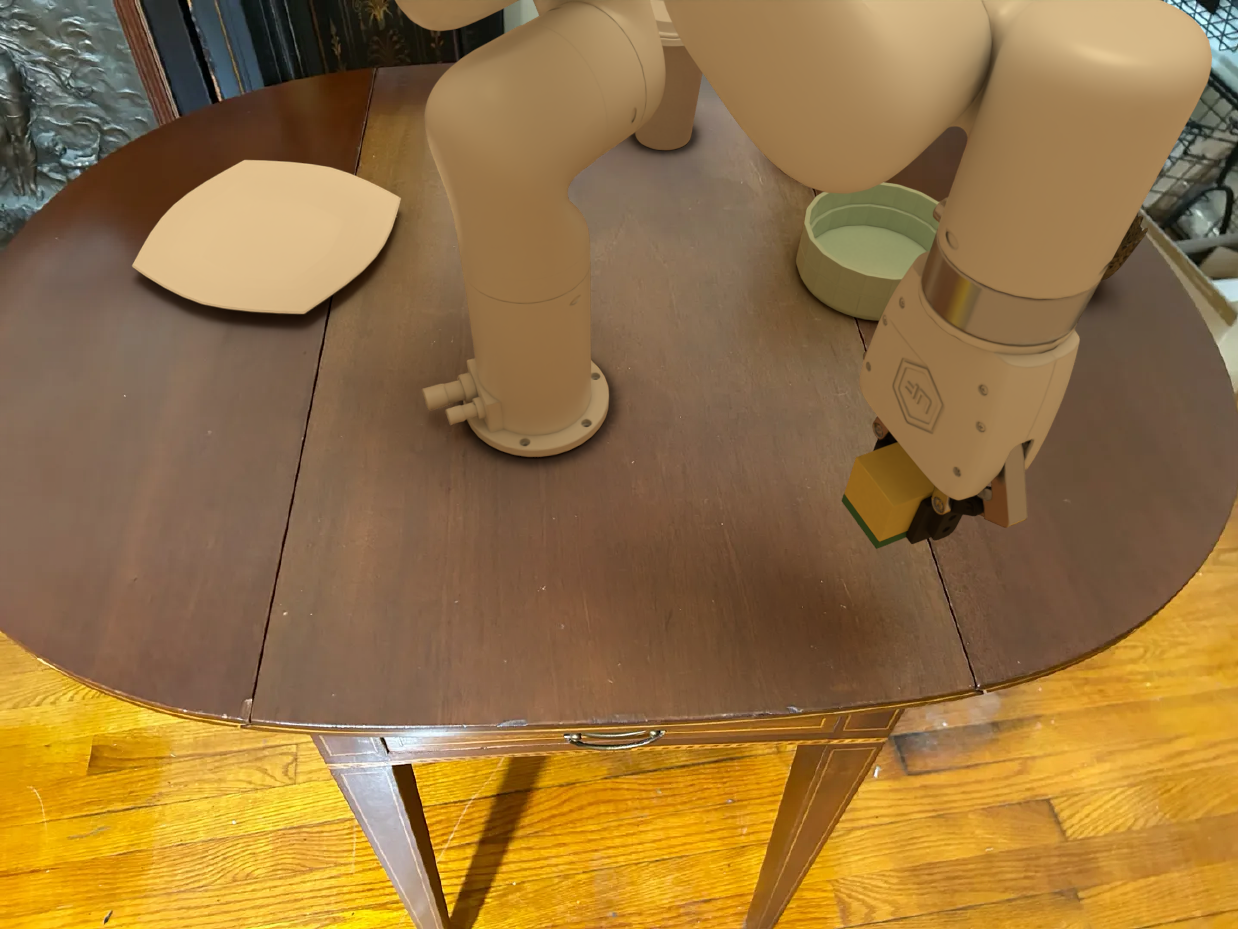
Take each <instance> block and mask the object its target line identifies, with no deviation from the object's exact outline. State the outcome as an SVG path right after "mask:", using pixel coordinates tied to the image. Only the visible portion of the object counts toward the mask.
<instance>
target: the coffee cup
mask: <svg viewBox="0 0 1238 929" xmlns="http://www.w3.org/2000/svg"><path fill="white" fill-rule="evenodd" d="M650 2H651V6H652V9H653V13H654V16H655V20H656V24H657V27H658V31H659V35H660V39H661V43H662V48H663V53H664V60H665V71H666V78H665V88H664V93H663V97H662V100H661V103H660V105H659V107H658V109H657V110H656V112H655V113H654V115H653V116H652V117H651V119H650V120H649V121H648V122H647V123H646V124H644V125H643V126H642V127H641V128H640V129H639V130H637V131H636V132H635V133H634V134H635V139H636V140H637V141H638V142H639V143H640V144H641V145H643V146H645V147H647V148H649V149H653V150H657V151H672V150H678V149H680V148H682V147H684V146H686V145H687V144H688V143H689V142H690V141H691V138H692V132H693V127H694V122H695V116H696V111H697V106H698V100H699V95H700V88H701V84H702V79H703V75H704V74H703V73H702V72H701V70H700V69H699V67H698V66H697V64H696V63H695V61H694V60H693V59H692V57H691V56H690V54H689V53H688V51H687V49H686V48H685V46H684V44H683V42H682V41H681V39H680V37H679V35H678V34H677V32H676V30H675V28H674V25H673V23H672V21H671V19H670V17H669V14H668V12H667V10H666V7H665V4H664V1H663V0H650Z"/></svg>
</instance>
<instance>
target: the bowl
mask: <svg viewBox="0 0 1238 929" xmlns="http://www.w3.org/2000/svg"><path fill="white" fill-rule="evenodd" d="M939 202H940V201H938V200H937V199H934V198H933V197H931V196H929V195H927V194H926V193H924V192H923V191H922V192H921V191H919V190H917V189H914V188H910V187H908V186H904V185H902V184H898V183H892V182H891V183H890V182H886V181H885V182H883V183H881V184H879V185H877V186H875V187H872V188H870V189H867V190H864V191H859V192H854V193H848V194H843V193H826V192H823V191H821V193H819V194H817V195H816V196H815V197H814V198H813V200H812V201H811V202H810V203H809V204H808V206H807V207H806V210H805V213H804V214H805V215H804V219H803V222H802V227H801V232H800V236H799V241H798V246H797V252H796V258H795V264H796V267H797V270H798V273H799V275H800V276H799V277H800V279H801V280H802V282H803V284H804V285H805V287H806V288H807V289H808V291H809V292H810V293H811V294H812V295H813V296H814V297H815V298H816V299H818V300H819V301H820V302H822V303H823V304H824V305H826V306H827V307H829V308H831V309H833V310H835V311H837V312H839V313H842V314H844V315H847V316H850V317H854V318H857V319H862V320H868V321H876V322H879V321H880V318H881V316H882V314H883V312H884V310H885V308H886V306H887V304H888V302H889V300H890V298H891V296H892V295H893V293H894V291H895V289H896V288H897V286H898V284H899V283H900V281H901V280H902V278H903V277H904V275H905V274H906V272H907V271H908V269H909V268H910V266H911V265H912V264H913V262H914V261H915V260H916V258H917V257H918V256H920V255H921V254H923V253H925V252H927V251H930V249H931V246H932V243H933V240H934V237H935V234H936V231H937V229H938V226H939V222H938V221H936V220H935V219H934V218H933V211H934V209H935V207H936V205H937V204H938V203H939Z"/></svg>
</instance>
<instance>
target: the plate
mask: <svg viewBox="0 0 1238 929" xmlns="http://www.w3.org/2000/svg"><path fill="white" fill-rule="evenodd" d="M401 200H402V198H401V197H400V196H398V195H396V194H394V193H393V192H391V191H389V190H387V189H385V188H383V187H381V186H379V185H377V184H375V183H373V182H371V181H369V180H367V179H364V178H362V177H359V176H357V175H354V174H353V173H350V172H346V171H344V170H341V169H338V168H335V167H330V166H325V165H319V164H312V163H302V162H294V161H278V160H261V159H260V160H259V159H244V160H242V161H239V162H238V163H236V164H235V165H232V166H231V167H229V168H227V169H225V170H223V171H222V172H220V173H218V174H216V175H214V176H213V177H211V178H210V179H208V180H206V181H204V182H203V183H201V184H200V185H198V186H197V187H194V189H192V190H191V191H189V192H187V193H186V194H185V195H183V197H181V198H180V199H179V200H178V201H177V202H175V203H174V204H173V205H172V206H171V207H170V208H169V209H168V210H167V211H166V212H165V213H164V214H163V215H162V216H161V217H160V219H159V221H158V222H156V224H155V225H154V227H153V228H152V230H151V231H150V232H149V233H148V236H147V238H146V239H145V241H144V243H143V245H142V247H141V248H140V250H139V252H138V253H137V255H136V257H135V259H134V262H133V263H132V265H131V267H132V268H133V269H134V270H136V271H137V272H138V273H140V274H142V275H143V276H144V277H146V278H147V279H149V280H150V281H152V282H154V283H155V284H157V285H159V286H161V287H162V288H164V289H165V290H167V291H169V292H171V293H173V294H175V295H177V296H178V297H179V296H180V297H182V298H183V299H185V300H189V301H192V302H194V303H197V304H200V305H202V306H206V307H210V308H216V309H220V310H227V311H228V310H229V311H236V312H245V313H252V314H253V313H254V314H269V315H289V316H290V315H294V316H305V315H306V314H308V313H309V312H311V311H312V310H314V309H315V308H317V307H318V306H320V305H321V304H323V303H325V302H326V301H327V300H328V299H330V298H332V297H333V296H334V295H336V294H337V293H338V292H340V291H341V290H343V289H344V288H346V287H347V286H348V285H349V284H350V283H352V282H353V281H354V280H355V279H357V277H359V276H360V275H361V274H363V272H364V271H365V270H366V269H367V268H368V267H370V265H371V264H372V263H374V261H375V260H376V258H377V257H378V256H379V254H380V252H382V250H383V248H384V247H385V245H386V243H387V241H388V238H389V237H390V235H391V232H392V231H393V227H394V224H395V222H396V218H397V215H398V211H399V208H400V203H401Z"/></svg>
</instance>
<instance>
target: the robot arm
mask: <svg viewBox="0 0 1238 929" xmlns="http://www.w3.org/2000/svg"><path fill="white" fill-rule="evenodd" d="M394 1H395V3H396V4H397V7H398V8H399V9H400V10H401V11H402V13H403V14H404V15H405V16H406V17H407V18H408V19H409V20H410V21H411V22H413V23H414V24H416V25H418V26H419V27H421V28H423V29H426V30H429V31H437V32H445V31H452V30H456V29H460V28H463V27H466V26H470V25H471V24H473V23H476V22H478V21H480V20H482V19H485V18H487V17H489V16H491V15H493V14H495V13H497V12H500V11H502V10H503V9H505V8H507V7H510V6H511V5H513V4H515V3H517V2H519V1H520V0H394ZM663 1H664V4H665V7H666V10H667V12H668V14H669V17H670V19H671V21H672V23H673V25H674V28H675V30H676V32H677V34H678V35H679V37H680V39H681V41H682V42H683V44H684V46H685V48H686V49H687V51H688V53H689V54H690V56H691V57H692V59H693V60H694V61H695V63H696V64H697V66H698V67H699V69H700V70H701V72H702V73H703V74H702V75H703V76H704V77H705V79H706V80H707V82H708V83H709V85H710V86H711V87H712V89H713V90H714V92H715V93H716V95H717V97H718V98H719V99H720V100H721V102H722V104H723V106H724V107H725V108H726V109H727V112H729V113H730V115H731V117H732V118H733V119H734V121H735V122H736V123H737V125H738V126H739V128H740V129H741V130H742V131H743V132H744V133H745V135H746V136H747V137H748V138H749V140H750V141H751V142H752V143H753V144H754V145H755V147H757V149H758V150H759V151H760V152H761V153H762V154H763V156H764V157H765V158H767V159H768V160H769V162H771V163H772V164H773V165H774V166H775V167H777V168H778V169H779V170H780V171H782V172H783V173H784V174H785V175H787V176H788V177H789V178H791V179H792V180H795V181H796V182H798V183H800V184H802V185H803V186H805V187H806V188H809V189H813V190H817V191H819V192H826V193H843V194H848V193H854V192H859V191H864V190H867V189H870V188H872V187H875V186H877V185H879V184H881V183H883V182H885V183H886V182H887V181H889V180H891V179H892V178H893V177H895V176H897V174H899V173H900V172H902V171H904V169H905V168H906V167H908V166H909V165H910V164H911V163H912V162H913V161H915V160H916V159H917V158H918V157H919V156H920V155H921V154H922V153H923V152H924V151H926V149H928V147H930V146H931V145H932V144H933V143H934V142H935V141H936V140H937V139H938V138H939V137H940V136H941V135H942V134H943V133H945V131H946V130H947V129H948V128H954V127H957V128H960V129H962V130H963V131H964V132H965V134H966V138H967V139H966V140H967V141H966V144H965V147H964V150H963V153H962V156H961V158H960V162H959V164H958V167H957V170H956V173H955V176H954V179H953V182H952V185H951V187H950V190H949V193H948V196H947V197H945V198H943V199H941V200H940V201H938V202H939V203H938V204H937V205H936V207H935V209H934V211H933V218H934V219H935V220H936V221H938V222H939V226H938V229H937V231H936V234H935V237H934V240H933V243H932V246H931V249H930V251H927V252H925V253H923V254H921V255H920V256H918V257H917V258H916V260H915V261H914V262H913V264H912V265H911V266H910V268H909V269H908V271H907V272H906V274H905V275H904V277H903V278H902V280H901V281H900V283H899V284H898V286H897V288H896V289H895V291H894V293H893V295H892V296H891V298H890V300H889V302H888V304H887V306H886V308H885V310H884V312H883V314H882V316H881V318H880V321H878V323H877V325H876V328H875V330H874V332H873V335H872V337H871V340H870V342H869V344H868V346H867V347H868V348H867V350H866V351H864V352H863V354H862V359H863V362H862V364H861V369H860V373H859V380H858V384H859V385H858V386H859V389H860V392H861V394H862V396H863V398H864V400H865V401H866V403H867V404H868V406H869V407H870V409H871V410H872V411H873V413H875V415H876V417H875V419H874V420H873V422H872V426H871V427H872V432H873V434H874V436H875V437H876V441H875V445H874V447H873V450H872V451H875V450H877V449H880V448H883V447H886V446H888V445H891V444H894V443H897V442H898V443H899V444H900V445H901V446H902V447H903V449H904V450H905V451H906V452H907V454H908V455H909V456H910V457H911V458H912V460H913V461H914V462H915V463H916V465H917V466H918V467H919V468H920V469H921V471H922V472H923V473H924V474H925V475H926V476H927V478H928V479H929V480H930V481H931V482H932V483H933V484H934V489H933V494H932V496H930V497H928V498H925V499H924V500H922V501H921V503H920V505H919V507H918V510H917V512H916V514H915V516H914V518H913V520H912V523H911V525H910V527H909V529H908V531H907V535H906V538H905V539H907V541H908V542H909V543H910V544H911V545H914V544H917V543H920V542H923V541H925V540H927V539H932V541H935V542H936V541H939V540H943V539H944V538H946V537H949V536H950V535H951V534H953V532H955V531H956V529H957V527H958V525H959V523H960V521H961V519H962V518H963V516H967V517H968V516H970V517H976V516H981V517H983V520H986V521H987V522H990V523H993V524H994V525H997V526H999V527H1002V528H1005V529H1007V528H1009V527H1012V526H1015V525H1017V524H1020V523H1022V522H1024V521H1027V519H1028V516H1029V514H1028V513H1029V512H1028V498H1027V481H1026V471H1027V470H1028V469H1029V467H1030V466H1031V464H1032V463H1033V461H1034V460H1035V458H1036V456H1037V455H1038V453H1039V451H1040V449H1041V447H1042V446H1043V444H1044V441H1045V440H1046V438H1047V436H1048V433H1049V432H1050V430H1051V427H1052V425H1053V423H1054V420H1055V418H1056V416H1057V414H1058V411H1059V409H1060V407H1061V404H1062V403H1063V402H1062V401H1063V399H1064V397H1065V394H1066V391H1067V388H1068V385H1069V383H1070V379H1071V376H1072V373H1073V369H1074V365H1075V363H1076V359H1077V354H1078V351H1079V345H1080V341H1081V339H1080V335H1079V334H1078V332H1077V331H1076V327H1077V325H1078V323H1079V321H1080V319H1081V317H1082V316H1083V314H1084V312H1085V310H1086V308H1087V306H1088V305H1089V302H1091V299H1092V297H1093V295H1094V293H1095V292H1096V290H1097V288H1098V286H1099V285H1100V283H1101V282H1102V281H1101V279H1102V277H1103V274H1104V273H1105V271H1106V269H1107V268H1108V266H1109V264H1110V262H1111V261H1112V259H1113V257H1114V255H1115V253H1116V251H1117V249H1118V247H1119V245H1120V244H1121V242H1122V240H1123V238H1124V236H1125V234H1126V233H1127V231H1128V229H1129V227H1130V225H1131V224H1132V222H1133V220H1134V218H1135V217H1136V215H1137V213H1138V214H1139V211H1140V209H1141V207H1142V206H1143V204H1144V202H1145V200H1146V198H1147V196H1148V195H1149V193H1150V192H1151V189H1152V187H1154V184H1155V182H1156V180H1157V178H1158V176H1159V174H1160V172H1161V171H1162V169H1163V167H1164V165H1165V163H1166V162H1167V160H1168V158H1169V156H1170V155H1171V153H1172V151H1173V149H1174V147H1175V145H1176V143H1177V141H1178V139H1179V137H1180V136H1181V135H1182V132H1183V130H1184V129H1185V127H1186V125H1187V123H1188V121H1190V120H1189V119H1190V118H1191V116H1192V115H1193V112H1194V111H1195V108H1196V107H1197V105H1198V103H1199V101H1200V99H1201V96H1202V94H1203V92H1204V90H1205V88H1206V86H1207V84H1208V82H1209V78H1210V74H1211V69H1212V64H1213V54H1212V48H1211V43H1210V40H1209V38H1208V36H1207V34H1206V33H1205V31H1204V29H1203V28H1202V27H1201V25H1200V24H1199V23H1198V22H1197V21H1196V20H1195V19H1194V18H1193V17H1191V16H1190V15H1189V14H1188V13H1187V12H1185V11H1183V10H1181V9H1180V8H1178V7H1176V6H1174V5H1172V4H1170V3H1168V2H1165V1H1164V0H663ZM532 2H533V4H534V7H535V9H536V12H537V14H538V16H536V17H534V18H532V19H530V20H529V21H526V22H525V23H523V24H521V25H518V26H516V27H514V28H512V29H511V30H508V31H507V32H504V33H503V34H501V35H499V36H498V37H496V38H493V39H492V40H491V41H488V42H487V43H484V44H482V45H480V46H479V47H477V48H475V49H474V50H472V51H471V52H469V53H468V54H465V55H464V56H463V57H462V58H460V59H459V60H458V61H456V62H455V63H453V65H451V66H450V67H449V68H448V69H447V70H446V71H445V72H444V73H442V75H441V76H440V77H439V79H438V80H437V81H436V83H435V84H434V85H433V87H432V89H431V91H430V93H429V95H428V98H427V99H426V103H425V107H424V116H423V117H424V118H423V123H424V124H423V125H424V132H425V137H426V141H427V144H428V147H429V152H430V153H431V156H432V159H433V162H434V164H435V166H436V170H437V172H438V174H439V176H440V179H441V183H442V185H443V188H444V191H445V193H446V196H447V200H448V204H449V207H450V210H451V214H452V215H451V216H452V219H453V225H454V228H455V233H456V240H457V245H458V251H459V258H460V265H461V271H462V276H463V277H462V278H463V285H464V290H465V297H466V304H467V310H468V311H467V312H468V319H469V325H470V332H471V340H472V347H473V353H474V357H473V358H470V359H467V360H466V366H467V372H465V373H461V374H458V375H457V380H454V381H450V382H446V383H438V384H435V385H431V386H428V387H427V386H426V387H425V388H421V392H422V397H423V400H424V404H425V405H426V408H427V411H428V412H431V411H434V410H436V409H441V408H444V407H447V406H450V404H454V403H457V402H461V401H463V404H462V405H461V404H458V405H455V406H453V407H452V406H451V407H449V408H445V409H444V410H445V414H446V415H445V416H446V418H447V420H448V423H449V425H450V426H452V425H455V424H459V423H462V422H465V421H467V423H468V425H469V427H470V429H471V430H472V431H473V432H474V433H475V435H476V436H477V437H478V438H479V439H480V440H482V441H483V442H484V443H485V444H486V445H488V446H490V447H492V448H494V449H496V450H498V451H500V452H504V453H506V454H510V455H514V456H519V457H520V456H521V457H527V458H533V457H534V458H536V457H537V458H539V457H540V458H542V457H549V456H556V455H559V454H562V453H566V452H568V451H570V450H572V449H575V448H577V447H578V446H581V445H583V444H584V443H585V442H586V441H588V440H590V438H593V436H594V435H595V434H596V433H597V432H598V431H599V429H601V426H602V425H603V423H604V422H605V420H606V418H607V414H608V411H609V406H610V405H609V404H610V391H609V390H610V389H609V384H608V382H607V379H606V376H605V375H604V373H603V372H602V370H601V368H599V366H598V365H597V364H596V363H595V362H594V361H593V360H592V272H591V271H592V265H591V264H592V262H591V237H590V231H589V226H588V223H587V220H586V218H585V216H584V215H583V213H582V212H581V210H580V209H579V208H578V207H577V206H576V204H574V203H573V202H572V201H571V200H570V198H569V193H568V192H569V188H570V186H571V184H572V182H573V181H574V179H575V178H576V176H578V175H579V174H580V173H582V171H584V170H586V169H587V168H588V167H589V166H591V165H592V164H594V163H595V162H596V161H597V160H598V159H600V158H601V157H602V156H603V155H605V154H606V153H608V152H610V150H612V149H613V148H615V147H617V146H618V145H620V144H621V143H622V142H623V141H625V140H626V139H628V138H629V137H631V136H632V135H634V134H635V132H636V131H637V130H639V129H640V128H641V127H642V126H643V125H644V124H646V123H647V122H648V121H649V120H650V119H651V117H652V116H653V115H654V113H655V112H656V110H657V109H658V107H659V105H660V103H661V100H662V97H663V93H664V88H665V78H666V71H665V60H664V53H663V48H662V43H661V39H660V35H659V31H658V27H657V24H656V20H655V16H654V13H653V9H652V6H651V2H650V0H532ZM989 485H990V486H989Z"/></svg>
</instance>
